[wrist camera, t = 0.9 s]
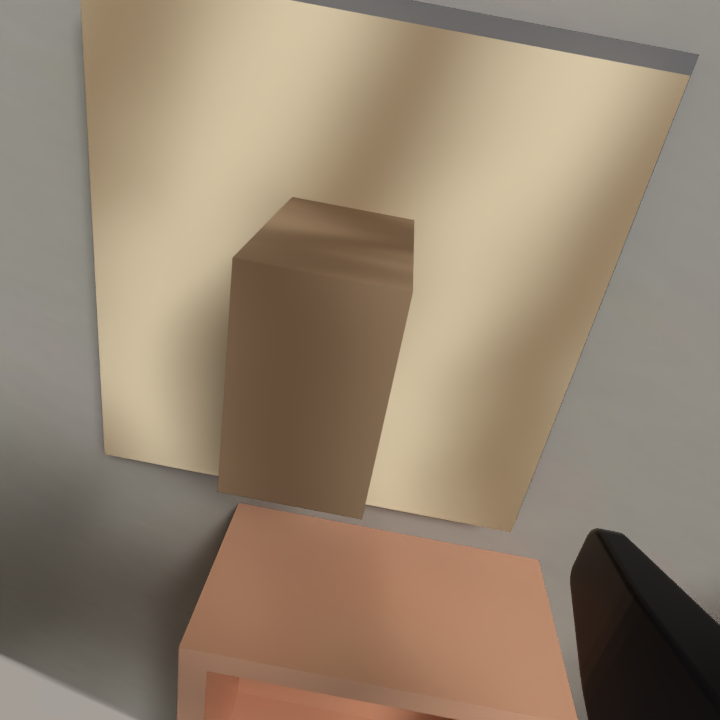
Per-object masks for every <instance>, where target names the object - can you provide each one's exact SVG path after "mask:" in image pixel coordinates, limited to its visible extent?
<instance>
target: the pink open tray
mask: <svg viewBox="0 0 720 720" xmlns="http://www.w3.org/2000/svg"><path fill="white" fill-rule="evenodd" d="M177 720H578V719H577V715H576V711H575V707H574V703H573V699H572V694H571V690H570V686H569V682H568V678H567V674H566V670H565V666H564V662H563V658H562V654H561V649H560V645H559V641H558V637H557V633H556V629H555V625H554V621H553V617H552V613H551V609H550V605H549V600H548V596H547V592H546V588H545V584H544V580H543V576H542V572H541V568H540V564H539V560H535V559H530V558H525V557H519V556H514V555H509V554H504V553H499V552H493V551H488V550H483V549H478V548H472V547H467V546H462V545H457V544H451V543H446V542H441V541H436V540H431V539H425V538H420V537H415V536H410V535H404V534H399V533H394V532H389V531H383V530H378V529H373V528H368V527H363V526H357V525H352V524H347V523H342V522H336V521H331V520H326V519H321V518H315V517H310V516H305V515H300V514H295V513H289V512H284V511H279V510H274V509H268V508H263V507H258V506H253V505H248V504H242V503H238V506H237V508H236V510H235V513H234V515H233V518H232V520H231V523H230V525H229V527H228V530H227V532H226V535H225V537H224V539H223V542H222V544H221V547H220V549H219V551H218V554H217V556H216V559H215V561H214V564H213V566H212V568H211V571H210V573H209V576H208V578H207V580H206V583H205V585H204V588H203V590H202V593H201V595H200V597H199V600H198V602H197V605H196V607H195V609H194V612H193V614H192V617H191V619H190V621H189V624H188V626H187V629H186V631H185V634H184V636H183V638H182V641H181V643H180V646H179V659H178V698H177Z"/></svg>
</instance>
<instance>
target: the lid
mask: <svg viewBox="0 0 720 720" xmlns="http://www.w3.org/2000/svg"><path fill="white" fill-rule="evenodd" d="M81 18H82V37H83V56H84V74H85V93H86V112H87V131H88V149H89V168H90V187H91V206H92V224H93V243H94V262H95V281H96V299H97V318H98V337H99V356H100V374H101V393H102V412H103V430H104V449H105V454H106V455H111V456H117V457H122V458H127V459H132V460H137V461H143V462H148V463H153V464H158V465H163V466H169V467H174V468H179V469H184V470H190V471H195V472H200V473H205V474H210V475H216V476H218V491H217V492H222V493H227V494H232V495H237V496H242V497H248V498H253V499H258V500H263V501H269V502H274V503H279V504H284V505H289V506H295V507H300V508H305V509H310V510H315V511H321V512H326V513H331V514H336V515H341V516H347V517H352V518H357V519H362V517H363V512H364V508H365V504H367V505H372V506H377V507H382V508H388V509H393V510H398V511H403V512H409V513H414V514H419V515H424V516H429V517H435V518H440V519H445V520H450V521H455V522H461V523H466V524H471V525H476V526H482V527H487V528H492V529H497V530H502V531H508V532H511V530H512V528H513V525H514V523H515V520H516V518H517V515H518V513H519V510H520V507H521V505H522V502H523V500H524V497H525V495H526V492H527V490H528V487H529V485H530V482H531V479H532V477H533V474H534V472H535V469H536V467H537V464H538V462H539V459H540V457H541V454H542V452H543V449H544V446H545V444H546V441H547V439H548V436H549V434H550V431H551V429H552V426H553V424H554V421H555V418H556V416H557V413H558V411H559V408H560V406H561V403H562V401H563V398H564V396H565V393H566V391H567V388H568V385H569V383H570V380H571V378H572V375H573V373H574V370H575V368H576V365H577V363H578V360H579V357H580V355H581V352H582V350H583V347H584V345H585V342H586V340H587V337H588V335H589V332H590V330H591V327H592V324H593V322H594V319H595V317H596V314H597V312H598V309H599V307H600V304H601V302H602V299H603V296H604V294H605V291H606V289H607V286H608V284H609V281H610V279H611V276H612V274H613V271H614V269H615V266H616V263H617V261H618V258H619V256H620V253H621V251H622V248H623V246H624V243H625V241H626V238H627V235H628V233H629V230H630V228H631V225H632V223H633V220H634V218H635V215H636V213H637V210H638V207H639V205H640V202H641V200H642V197H643V195H644V192H645V190H646V187H647V185H648V182H649V180H650V177H651V174H652V172H653V169H654V167H655V164H656V162H657V159H658V157H659V154H660V152H661V149H662V146H663V144H664V141H665V139H666V136H667V134H668V131H669V129H670V126H671V124H672V121H673V119H674V116H675V113H676V111H677V108H678V106H679V103H680V101H681V98H682V96H683V93H684V91H685V88H686V85H687V83H688V80H689V78H690V76H689V75H683V74H678V73H673V72H668V71H662V70H657V69H652V68H647V67H641V66H636V65H631V64H625V63H620V62H615V61H610V60H604V59H599V58H594V57H588V56H583V55H578V54H573V53H567V52H562V51H557V50H551V49H546V48H541V47H536V46H530V45H525V44H520V43H514V42H509V41H504V40H499V39H493V38H488V37H483V36H477V35H472V34H467V33H462V32H456V31H451V30H446V29H440V28H435V27H430V26H425V25H419V24H414V23H409V22H403V21H398V20H393V19H388V18H382V17H377V16H372V15H366V14H361V13H356V12H351V11H345V10H340V9H335V8H329V7H324V6H319V5H314V4H308V3H303V2H298V1H293V0H81Z"/></svg>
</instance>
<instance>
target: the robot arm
mask: <svg viewBox="0 0 720 720" xmlns="http://www.w3.org/2000/svg"><path fill="white" fill-rule="evenodd" d="M570 586H571V595H572V604H573V614H574V623H575V632H576V641H577V651H578V660H579V669H580V677H581V684H582V690H583V696H584V701H585V706H586V711H587V715H588V720H720V625H719V624H718V623H717V622H716V621H715V620H714V619H713V618H712V617H711V616H710V615H708V614H707V613H706V612H705V611H704V610H703V609H702V608H701V607H700V606H699V605H698V604H697V603H696V602H695V601H694V600H693V599H692V598H691V597H689V596H688V595H687V594H686V593H685V592H684V591H683V590H682V589H681V588H680V587H679V586H678V585H677V584H676V583H675V582H674V581H673V580H672V579H670V578H669V577H668V576H667V575H666V574H665V573H664V572H663V571H662V570H661V569H660V568H659V567H658V566H657V565H656V564H655V563H654V562H653V561H651V560H650V559H649V558H648V557H647V556H646V555H645V554H644V553H643V552H642V551H641V550H640V549H639V548H638V547H637V546H636V545H635V544H634V543H632V542H631V541H630V540H629V539H628V538H627V537H626V536H625V535H624V534H622V533H619V532H615V531H610V530H604V529H599V528H596V529H593V530H591V531H590V532H589V534H588V535H587V537H586V539H585V542H584V544H583V546H582V548H581V550H580V552H579V554H578V556H577V558H576V560H575V562H574V565H573V567H572V570H571V576H570Z"/></svg>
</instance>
